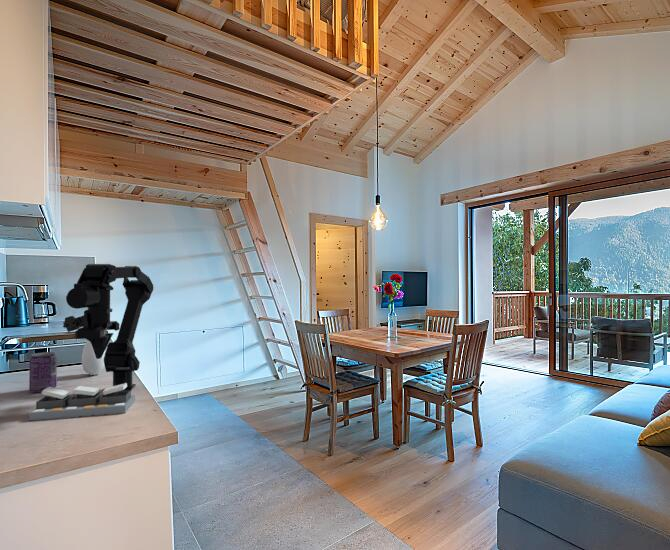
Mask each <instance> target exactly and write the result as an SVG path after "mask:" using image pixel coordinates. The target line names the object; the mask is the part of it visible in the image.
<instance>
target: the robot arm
mask: <svg viewBox="0 0 670 550" xmlns="http://www.w3.org/2000/svg"><path fill="white" fill-rule="evenodd" d="M129 278H130V279H131V280H130V279H129ZM133 278H134V279H133ZM135 278H136V279H135ZM117 279H123V281H122V286H123V288H124V290H125V293H124V294H125V296H126V299H127V303H126V307H125V311H124V313H123V317H122V320H121V323H119V322H118V321H117V320H111V313H113V308H111V291H113V290H114V287H113V286H112V285H111V283H113V282H115V281H116V280H117ZM153 291H154V284H153V281H152V279H151V278H150V276H148V275H147V274H145V273H144V272H143V271H142V269H141V268H140V267H139V266H137V265H126V266H116V265H114V264H110V263H88V264H87V263H86V265H85V268H83V269H82V272H81V274H80V277H79V278H78V279H77V282H76V283H73V288H72V289H70V290H69V291H68V292H67V294H66V296H65V300H66V303H67V305H68V306H69V307H70V308H72V309H85V308H86V309H85V310H84V311H83V315H80V316H77V317H75V316H74V315H70V316H67V317H64V322H63V325H62V327H63V328H64V329H66V331H67V332H68V333H70V332H74V339H75V340H79V339H80V340H82V339H85V340H87V341H90V342H91V344H92V347H93V350H94V353H95V356H96V358H97V359H100V358H101V357H102V355H103V353H104V351H106V352H105V356H104V364H105V366H104V368H105V372H106V373H110V372H112V386H116V385H120V384H124V383H127V387H126V388H125V389H124V390H121V391H132V390H133V389H134V388H135V387H136V383H133V372H135V371H138V370H139V369H140V363H141V362H140V360H139V359H138V357H137V356H136V349H135V345H134V344H133V342H134V339H135V336H136V335H135V334H136V331H137V327H138V324H139V320H140V316H141V313H142V310H143V306H144V305H145V303H146V302H147V301H149V300H150V298H151V295H152V293H153ZM112 330H114V331H118V333H117V336H116V339H115V340H114V341H113V342H111V341H110V340H111V339H112V337H113V336H114V332H109V331H112Z"/></svg>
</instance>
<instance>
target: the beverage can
mask: <svg viewBox="0 0 670 550" xmlns="http://www.w3.org/2000/svg"><path fill="white" fill-rule="evenodd" d="M55 354H56V352H54V351H44V352H36V353H32V354H31V357H30V358H29V365H28V366H29V372H28V373H29V374H28V376H29V379H28V381H29V382H28V383H29V384H28V385H29V387H28V389H29V391H30V392H33V393H42V391H43V390H44V389H46V388H48V387H53V388H56V387H57V369H58V367H57V360H58V359H57V356H56V355H55Z"/></svg>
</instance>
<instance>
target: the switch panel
mask: <svg viewBox="0 0 670 550" xmlns="http://www.w3.org/2000/svg"><path fill="white" fill-rule="evenodd" d="M135 401H136V394H132V390H130V391H117V392H113V393H109V394H105V395H103V392H98V393H96V394H95V395H94V396H92V395H84V394H76V393H75V395H73V394H68V395H67V396H66V397H65V398H63V399H60V398H56V397H52V396H48V395H45V396H44V397H42V398H40V399H39V400H37V401H36V402H35V408H34V409H33V410H32V411H30V412H28V421H29V420H32V421H42V419H45V420H56V419H68V418H80V417H79V416H82V417H92V416H91V415H95V416H104V414H105V416H106V414H107V415H119V414H126V413H127V411H129V409H130V408H131V407H132V406H133V404H134V403H135Z"/></svg>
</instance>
